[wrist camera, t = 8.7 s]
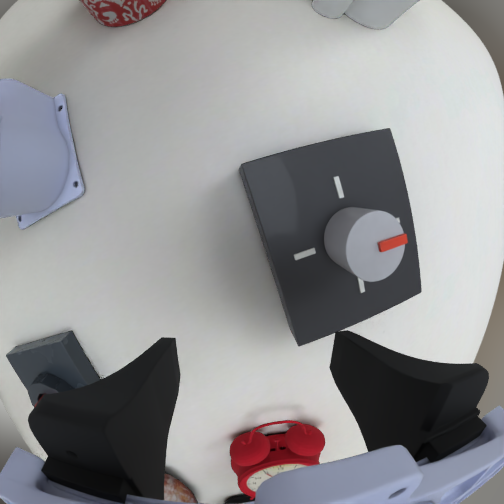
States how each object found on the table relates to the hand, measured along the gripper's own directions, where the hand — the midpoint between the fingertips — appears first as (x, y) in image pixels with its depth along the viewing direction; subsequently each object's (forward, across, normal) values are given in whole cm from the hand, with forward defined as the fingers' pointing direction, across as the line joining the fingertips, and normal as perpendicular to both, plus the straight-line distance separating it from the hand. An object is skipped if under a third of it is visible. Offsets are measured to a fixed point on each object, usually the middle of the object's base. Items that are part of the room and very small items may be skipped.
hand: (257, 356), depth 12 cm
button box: (+9, +18, +12) cm, 24 cm away
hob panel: (+9, -7, -4) cm, 12 cm away
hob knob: (+6, -7, -4) cm, 10 cm away
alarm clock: (+10, -4, +20) cm, 23 cm away
